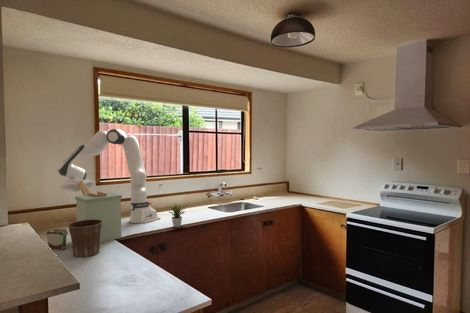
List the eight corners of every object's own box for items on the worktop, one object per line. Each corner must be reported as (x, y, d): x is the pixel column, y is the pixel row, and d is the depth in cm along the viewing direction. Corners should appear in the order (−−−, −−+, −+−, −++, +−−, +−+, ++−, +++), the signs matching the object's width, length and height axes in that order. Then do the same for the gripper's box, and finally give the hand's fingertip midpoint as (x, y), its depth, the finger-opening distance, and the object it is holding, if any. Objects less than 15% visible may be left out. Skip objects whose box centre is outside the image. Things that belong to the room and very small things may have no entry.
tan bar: (82, 184, 210) (83, 180, 209) (91, 198, 199) (92, 194, 198) (77, 184, 208) (77, 180, 207) (85, 199, 197) (86, 195, 196)
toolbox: (111, 232, 199) (110, 190, 198) (122, 237, 187) (121, 192, 186) (76, 239, 185) (75, 193, 184) (86, 245, 173) (84, 197, 172)
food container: (73, 247, 171) (73, 229, 170) (64, 250, 165) (64, 232, 164) (55, 245, 174) (55, 227, 174) (46, 249, 168) (45, 230, 168)
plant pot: (61, 258, 153) (60, 226, 152) (81, 248, 169) (80, 218, 168) (91, 260, 151) (90, 227, 150) (109, 249, 167) (108, 219, 166)
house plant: (182, 229, 203) (182, 205, 203) (163, 229, 206) (162, 204, 205) (190, 224, 217) (189, 201, 217) (171, 223, 220) (171, 201, 219)
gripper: (58, 182, 208) (64, 182, 198) (90, 179, 222) (97, 179, 212) (59, 191, 208) (65, 192, 198) (90, 188, 222) (98, 188, 212)
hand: (82, 185), depth 205 cm, fingers closed on tan bar, 3 cm apart
